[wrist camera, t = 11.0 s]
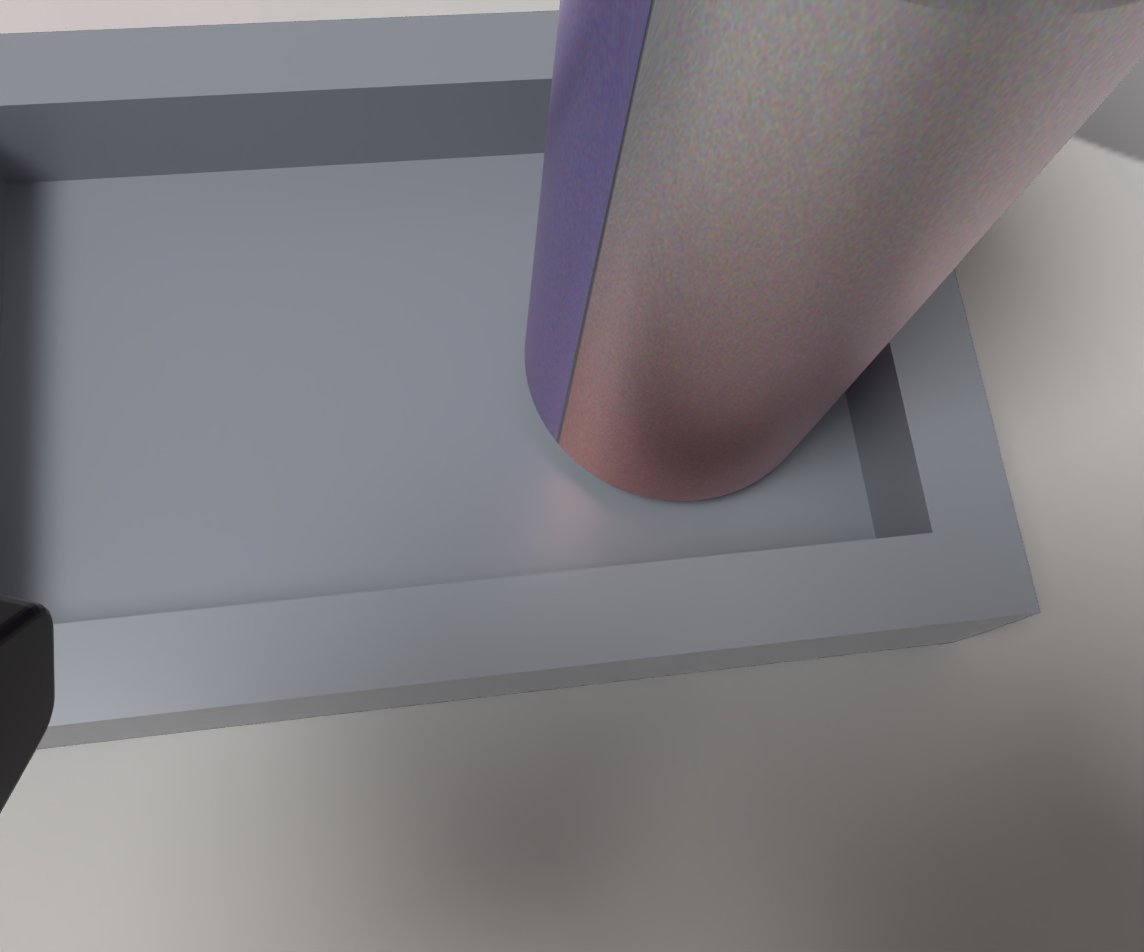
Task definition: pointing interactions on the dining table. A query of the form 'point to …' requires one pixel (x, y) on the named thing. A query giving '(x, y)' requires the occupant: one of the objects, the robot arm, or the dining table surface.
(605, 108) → the beverage can
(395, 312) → the tray
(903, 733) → the dining table surface
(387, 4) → the dining table surface
